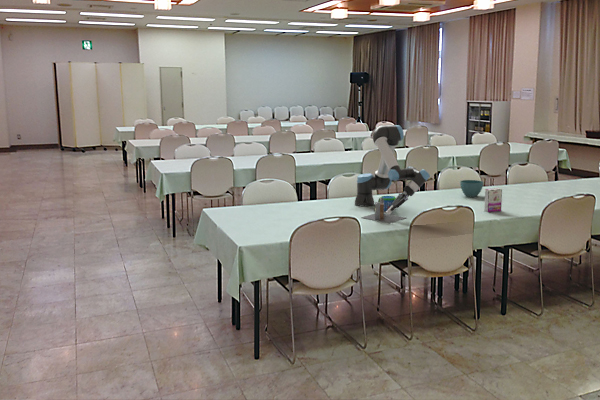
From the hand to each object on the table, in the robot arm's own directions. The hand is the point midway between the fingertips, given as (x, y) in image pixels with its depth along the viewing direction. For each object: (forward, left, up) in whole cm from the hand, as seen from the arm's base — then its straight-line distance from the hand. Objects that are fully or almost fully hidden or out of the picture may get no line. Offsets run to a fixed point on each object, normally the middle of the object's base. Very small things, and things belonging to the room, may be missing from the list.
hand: (387, 213), depth 393 cm
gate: (-6, +2, -4) cm, 7 cm away
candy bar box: (+42, +72, -4) cm, 83 cm away
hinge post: (-11, +9, -4) cm, 15 cm away
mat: (-4, +2, -4) cm, 6 cm away
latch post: (-4, -6, -4) cm, 8 cm away
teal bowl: (+4, +113, -4) cm, 113 cm away
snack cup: (-16, +24, -4) cm, 29 cm away
